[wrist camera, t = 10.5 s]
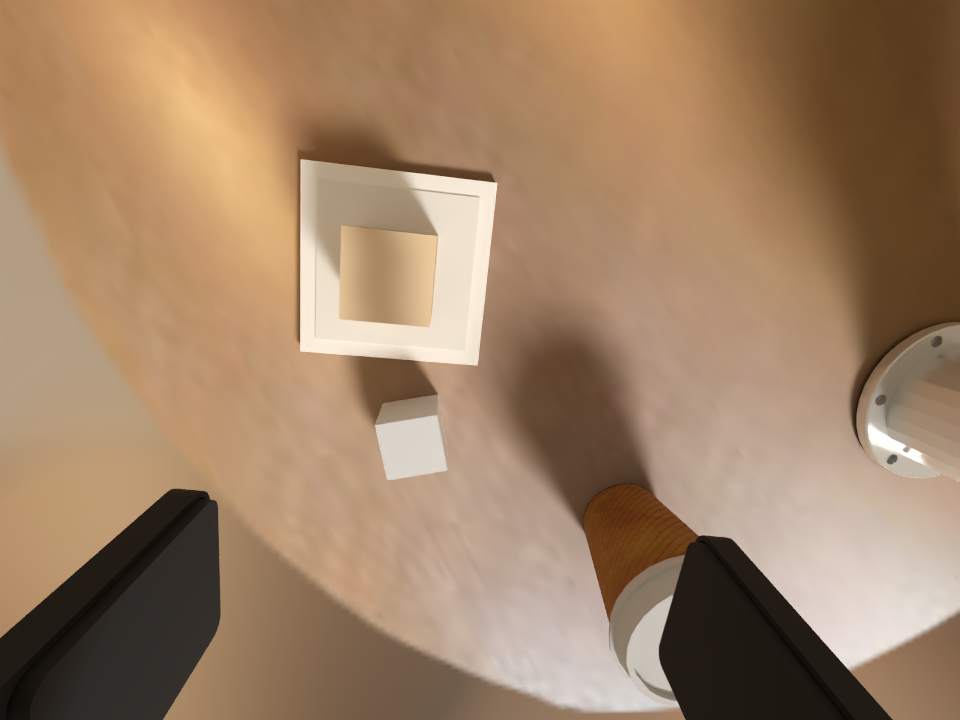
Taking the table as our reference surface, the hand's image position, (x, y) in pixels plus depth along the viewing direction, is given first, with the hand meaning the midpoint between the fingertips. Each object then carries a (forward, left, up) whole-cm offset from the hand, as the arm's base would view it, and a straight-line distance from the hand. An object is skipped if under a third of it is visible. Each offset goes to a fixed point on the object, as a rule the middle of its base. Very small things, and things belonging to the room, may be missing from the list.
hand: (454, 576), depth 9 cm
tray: (+4, -4, -24) cm, 24 cm away
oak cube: (+4, -4, -23) cm, 23 cm away
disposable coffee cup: (-15, +14, -24) cm, 32 cm away
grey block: (+2, +7, -24) cm, 25 cm away
